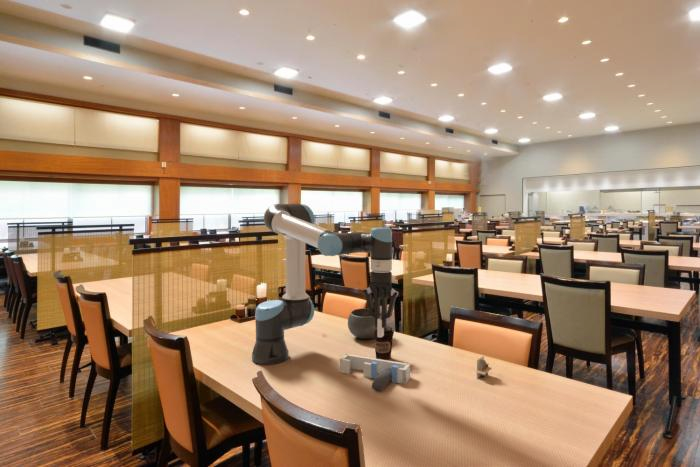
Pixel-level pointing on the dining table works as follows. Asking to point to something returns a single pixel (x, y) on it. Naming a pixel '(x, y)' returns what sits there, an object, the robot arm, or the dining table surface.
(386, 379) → the dark gray cylinder
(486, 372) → the architectural model
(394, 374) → the white u-shaped bracket
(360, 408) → the dining table surface
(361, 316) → the bowl
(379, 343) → the coffee cup
